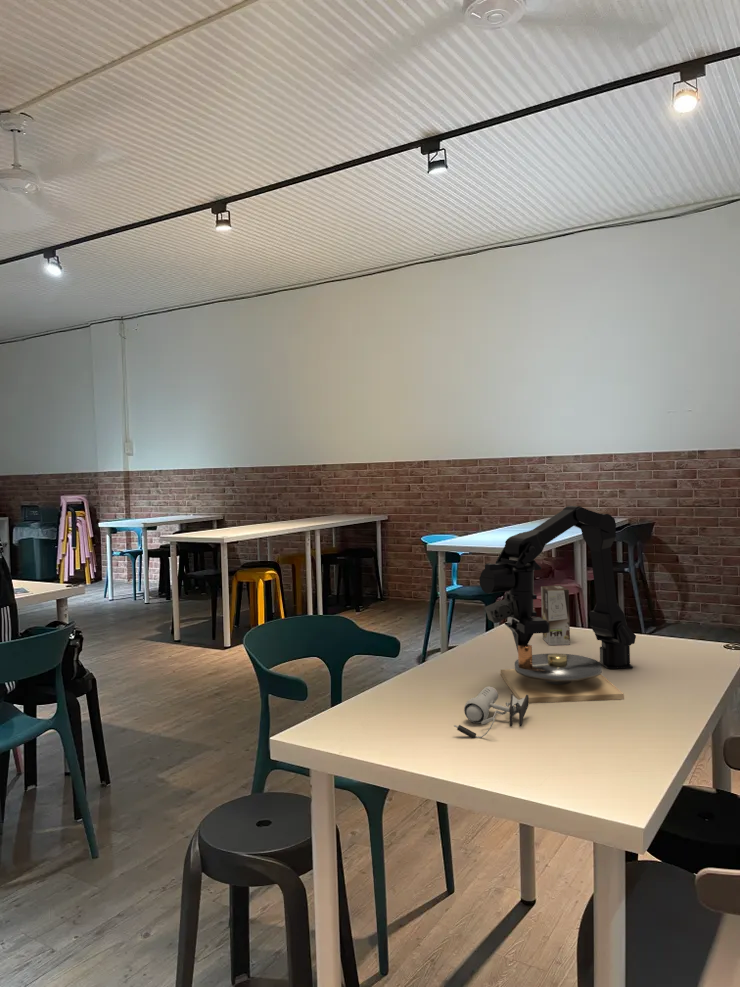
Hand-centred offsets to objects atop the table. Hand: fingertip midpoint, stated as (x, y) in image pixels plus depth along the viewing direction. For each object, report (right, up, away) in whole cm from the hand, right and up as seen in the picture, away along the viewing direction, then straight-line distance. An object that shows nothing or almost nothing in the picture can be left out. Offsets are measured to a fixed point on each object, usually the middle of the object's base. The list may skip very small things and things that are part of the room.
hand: (520, 654), depth 175 cm
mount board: (+9, -7, -1) cm, 11 cm away
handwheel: (+8, -3, -2) cm, 9 cm away
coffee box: (+19, -6, +42) cm, 46 cm away
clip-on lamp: (-11, -9, -26) cm, 30 cm away
